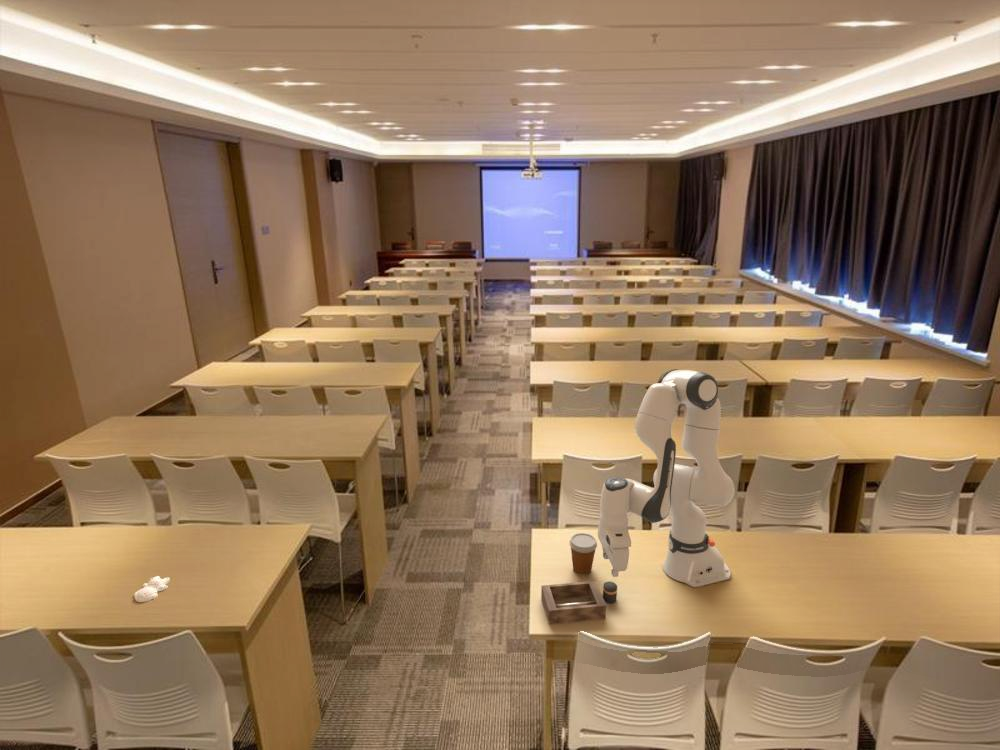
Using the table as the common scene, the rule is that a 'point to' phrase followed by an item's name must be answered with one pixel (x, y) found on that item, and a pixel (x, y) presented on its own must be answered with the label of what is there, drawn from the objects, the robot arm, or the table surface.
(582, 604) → the metal rod
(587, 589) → the brown wooden frame
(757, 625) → the table surface
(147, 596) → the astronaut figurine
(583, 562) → the disposable coffee cup
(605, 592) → the orange-banded dark cylinder
